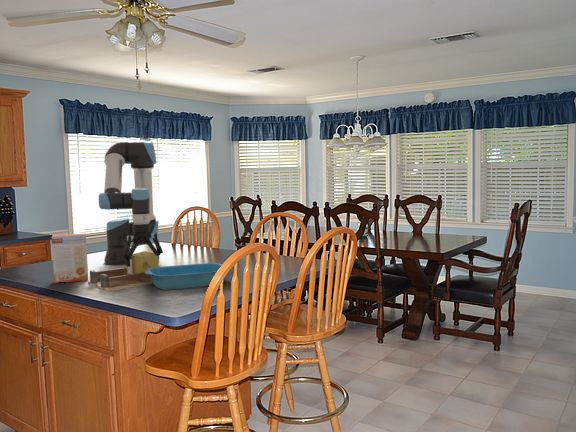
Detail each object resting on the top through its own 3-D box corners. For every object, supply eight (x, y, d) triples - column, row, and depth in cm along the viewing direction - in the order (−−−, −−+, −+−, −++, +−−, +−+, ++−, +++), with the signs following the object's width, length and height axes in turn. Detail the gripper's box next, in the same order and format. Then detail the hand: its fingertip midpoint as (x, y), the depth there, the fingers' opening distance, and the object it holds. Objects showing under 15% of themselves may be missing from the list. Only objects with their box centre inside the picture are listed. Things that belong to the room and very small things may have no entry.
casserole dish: (222, 275, 240) (221, 260, 240) (238, 284, 220) (238, 268, 220) (141, 283, 225) (140, 267, 224) (150, 294, 205) (149, 276, 204)
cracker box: (88, 278, 236) (86, 233, 234) (88, 281, 230) (86, 234, 229) (54, 281, 231) (52, 234, 229) (53, 283, 226) (51, 236, 224)
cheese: (160, 274, 233) (159, 252, 232) (141, 279, 224) (140, 256, 224) (144, 272, 239) (144, 250, 238) (125, 276, 230) (124, 254, 229)
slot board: (87, 283, 225) (87, 270, 224) (146, 274, 244) (146, 261, 243) (107, 291, 210) (106, 276, 210) (168, 280, 229) (168, 267, 229)
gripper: (119, 226, 219) (121, 276, 221) (169, 221, 235) (171, 268, 237) (111, 224, 224) (113, 274, 226) (161, 220, 240) (162, 266, 242)
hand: (143, 271), depth 232 cm, fingers closed on cheese, 12 cm apart
